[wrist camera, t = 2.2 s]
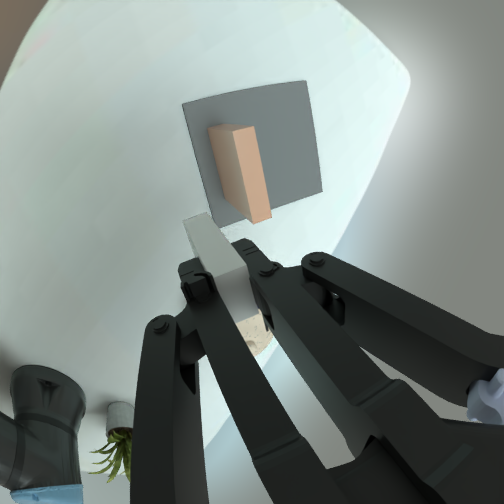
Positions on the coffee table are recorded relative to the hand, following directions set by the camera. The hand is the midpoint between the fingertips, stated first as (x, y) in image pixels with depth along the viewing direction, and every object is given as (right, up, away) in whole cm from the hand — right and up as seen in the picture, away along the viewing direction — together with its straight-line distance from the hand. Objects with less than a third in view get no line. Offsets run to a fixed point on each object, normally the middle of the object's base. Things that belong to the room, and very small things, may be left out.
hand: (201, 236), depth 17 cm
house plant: (-23, -30, +26) cm, 46 cm away
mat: (+4, +12, +17) cm, 21 cm away
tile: (0, +10, +16) cm, 18 cm away
